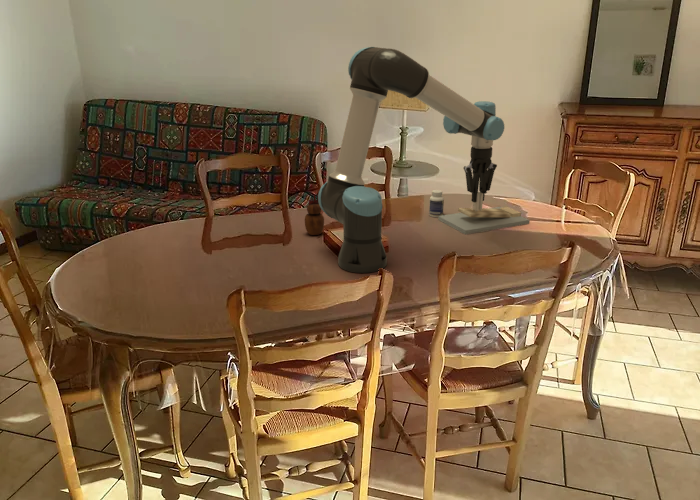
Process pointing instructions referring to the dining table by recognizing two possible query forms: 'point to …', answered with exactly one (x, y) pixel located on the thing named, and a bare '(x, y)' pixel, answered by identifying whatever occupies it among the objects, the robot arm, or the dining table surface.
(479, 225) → the floor panel
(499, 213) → the plank
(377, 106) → the robot arm
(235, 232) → the dining table surface
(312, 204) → the wooden figurine
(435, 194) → the pill bottle
